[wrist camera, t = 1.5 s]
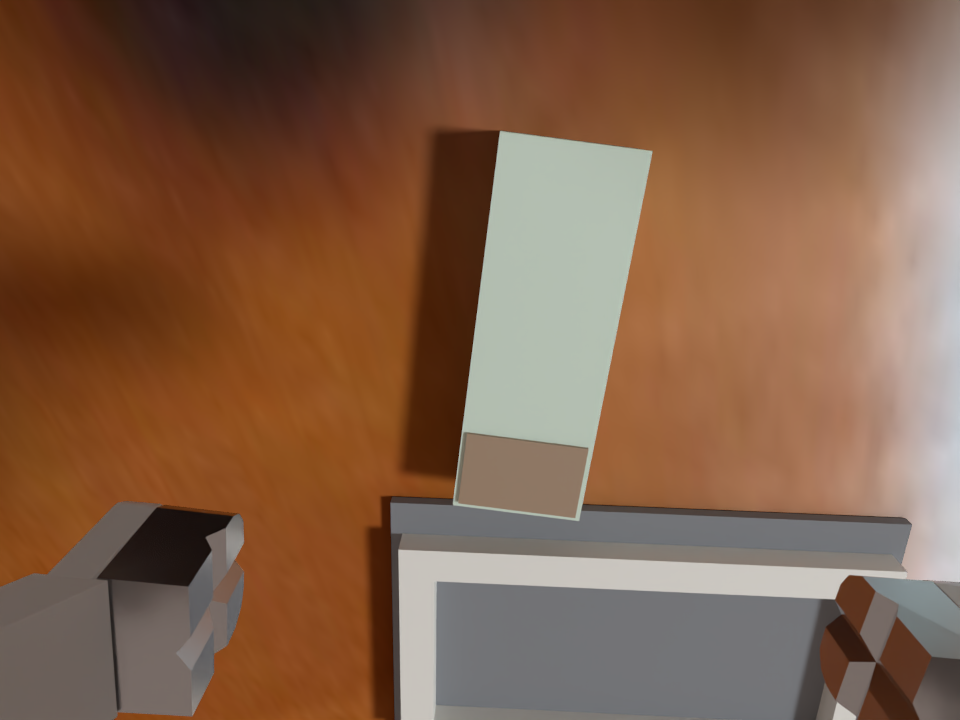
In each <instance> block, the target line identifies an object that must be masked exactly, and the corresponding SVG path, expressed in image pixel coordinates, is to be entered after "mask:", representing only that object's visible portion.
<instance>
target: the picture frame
mask: <svg viewBox="0 0 960 720" xmlns="http://www.w3.org/2000/svg"><path fill="white" fill-rule="evenodd" d="M390 504H391V556H392V607H393V659H394V711H395V720H856V716H855V715H854V714H852V713H851V712H850V711H848V710H847V709H846V708H844V707H843V706H842V705H840V704H839V703H838V702H836V701H835V699H834V697H833V696H832V694H831V692H830V691H829V689H828V687H827V686H826V683H825V680H824V677H823V674H822V671H821V664H820V645H821V641H822V638H823V634H824V631H825V627H826V626H827V625H829V624H830V623H831V622H832V621H834V620H835V619H836V618H837V617H839V616H840V615H841V612H840V610H839V608H838V606H837V603H836V601H835V598H836V596H837V593H838V590H839V587H840V584H841V583H842V582H843V581H844V580H845V579H846V578H847V576H848V575H857V576H870V577H883V578H896V579H906V576H907V573H908V572H907V571H906V570H905V569H904V567H903V566H902V565H901V564H902V560H903V556H904V553H905V549H906V545H907V542H908V538H909V534H910V530H911V527H912V524H911V523H910V522H909V521H908V520H907V519H906V518H889V517H865V516H841V515H817V514H793V513H770V512H746V511H722V510H698V509H674V508H650V507H626V506H603V505H582V509H581V514H580V519H579V521H574V520H566V519H558V518H550V517H542V516H535V515H527V514H519V513H511V512H503V511H495V510H487V509H479V508H471V507H464V506H456V505H453V499H436V498H412V497H392V499H391V503H390Z"/></svg>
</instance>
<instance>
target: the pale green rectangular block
mask: <svg viewBox="0 0 960 720" xmlns="http://www.w3.org/2000/svg"><path fill="white" fill-rule="evenodd" d="M652 152H653V151H648V150H643V149H637V148H629V147H622V146H614V145H606V144H599V143H591V142H583V141H576V140H568V139H561V138H553V137H545V136H538V135H530V134H522V133H515V132H507V131H500V135H499V143H498V151H497V159H496V167H495V175H494V183H493V191H492V198H491V206H490V214H489V222H488V230H487V238H486V246H485V254H484V262H483V270H482V277H481V285H480V293H479V301H478V309H477V317H476V325H475V333H474V341H473V349H472V357H471V364H470V372H469V380H468V388H467V396H466V404H465V412H464V420H463V428H462V436H461V443H460V451H459V459H458V467H457V475H456V483H455V491H454V499H453V505H456V506H464V507H471V508H479V509H487V510H495V511H503V512H511V513H519V514H527V515H535V516H542V517H550V518H558V519H566V520H574V521H579V519H580V514H581V509H582V504H583V499H584V494H585V489H586V484H587V479H588V474H589V468H590V463H591V458H592V453H593V448H594V443H595V438H596V433H597V428H598V423H599V418H600V413H601V408H602V403H603V398H604V393H605V388H606V383H607V378H608V373H609V368H610V363H611V358H612V353H613V348H614V343H615V338H616V333H617V328H618V323H619V318H620V313H621V308H622V302H623V297H624V292H625V287H626V282H627V277H628V272H629V267H630V262H631V257H632V252H633V247H634V242H635V237H636V232H637V227H638V222H639V217H640V212H641V207H642V202H643V197H644V192H645V187H646V182H647V177H648V172H649V167H650V162H651V157H652Z"/></svg>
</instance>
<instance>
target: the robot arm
mask: <svg viewBox="0 0 960 720" xmlns="http://www.w3.org/2000/svg"><path fill="white" fill-rule="evenodd" d="M243 543H244V532H243V520H242V518H241V516H240V514H238V513H229V512H221V511H212V510H204V509H196V508H187V507H179V506H170V505H163V506H162V505H161V504H155V503H143V502H132V501H124V502H119V503H117V504H115V505H114V506H113V507H112V508H111V509H110V510H109V511H108V512H107V513H106V514H105V516H104V517H103V518H102V519H101V520H100V521H99V522H98V523H97V524H96V525H95V526H94V527H93V528H92V529H91V530H90V531H89V532H88V533H87V534H86V535H85V536H84V537H83V538H82V539H81V540H80V541H79V542H78V543H77V544H76V545H75V546H74V547H73V548H72V549H71V550H70V551H69V553H68V554H67V555H66V556H65V557H64V558H63V559H62V560H61V561H60V562H59V563H58V564H57V565H56V566H55V567H54V568H53V569H52V570H51V571H50V572H49V573H48V574H47V575H45V574H32V575H29V576H27V577H24V578H22V579H19V580H17V581H14V582H12V583H9V584H7V585H4V586H2V587H0V720H113V719H114V718H116V717H117V712H126V713H143V714H161V715H178V716H193V714H194V712H195V710H196V708H197V706H198V704H199V702H200V700H201V698H202V696H203V694H204V692H205V690H206V688H207V686H208V684H209V681H210V679H211V677H212V675H213V673H214V654H215V653H216V652H218V651H219V650H221V649H222V648H224V647H226V646H227V645H228V642H229V640H230V638H231V636H232V634H233V631H234V629H235V626H236V623H237V619H238V616H239V612H240V608H241V603H242V596H243V588H244V571H243V570H242V569H241V567H240V566H239V565H238V563H237V562H236V561H235V558H236V556H237V554H238V552H239V551H240V549H241V547H242V545H243ZM835 601H836V603H837V606H838V608H839V610H840V612H841V615H840V616H839V617H837V618H836V619H835V620H834V621H832V622H831V623H830V624H829V625H827V626H826V627H825V631H824V634H823V638H822V641H821V645H820V664H821V671H822V674H823V677H824V680H825V683H826V686H827V687H828V689H829V691H830V692H831V694H832V696H833V697H834V699H835V701H836V702H838V703H839V704H840V705H842V706H843V707H844V708H846V709H847V710H848V711H850V712H851V713H852V714H854V715H855V716H856V720H960V582H946V581H930V580H909V579H896V578H883V577H870V576H857V575H848V576H847V578H846V579H845V580H844V581H843V582H842V583H841V584H840V587H839V590H838V593H837V596H836V598H835Z"/></svg>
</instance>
